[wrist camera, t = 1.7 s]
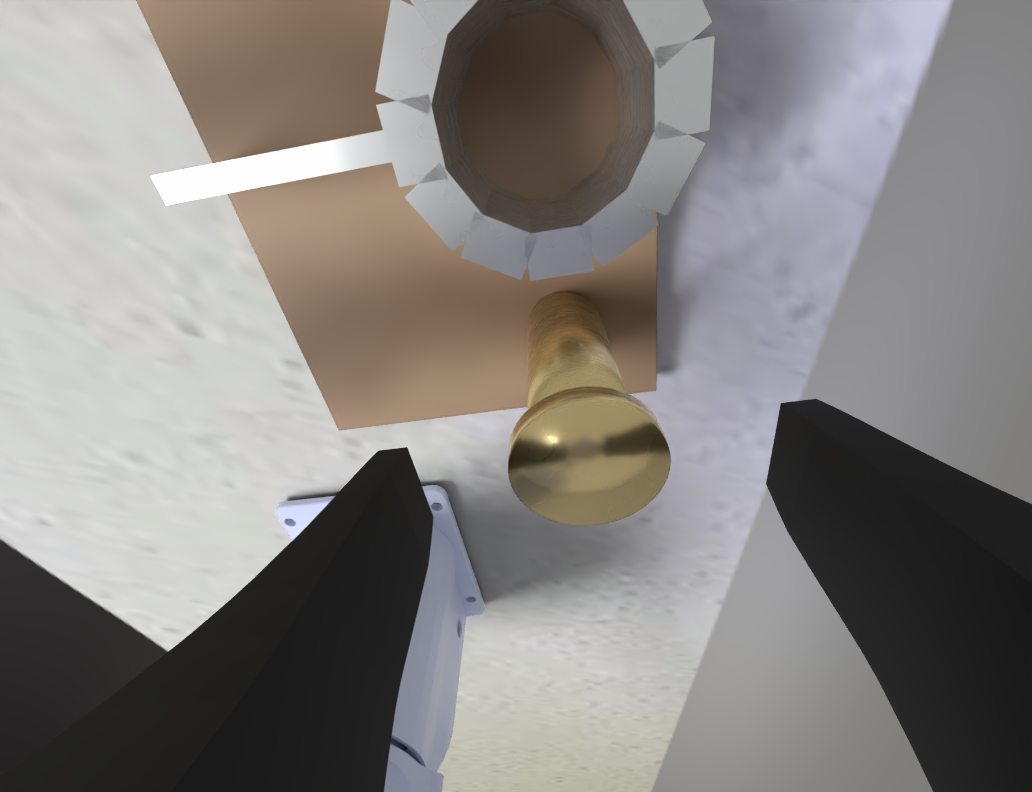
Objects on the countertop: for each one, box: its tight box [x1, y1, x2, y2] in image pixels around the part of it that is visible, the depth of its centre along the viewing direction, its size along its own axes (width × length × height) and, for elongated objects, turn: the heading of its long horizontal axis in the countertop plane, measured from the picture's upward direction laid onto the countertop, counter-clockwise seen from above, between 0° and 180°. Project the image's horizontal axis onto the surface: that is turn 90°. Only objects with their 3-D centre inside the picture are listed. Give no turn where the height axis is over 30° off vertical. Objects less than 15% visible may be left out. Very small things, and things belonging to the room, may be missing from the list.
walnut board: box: [136, 0, 657, 430], centre depth 12 cm, size 20×12×1 cm, turn 9°
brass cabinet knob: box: [508, 291, 671, 526], centre depth 12 cm, size 3×3×7 cm
